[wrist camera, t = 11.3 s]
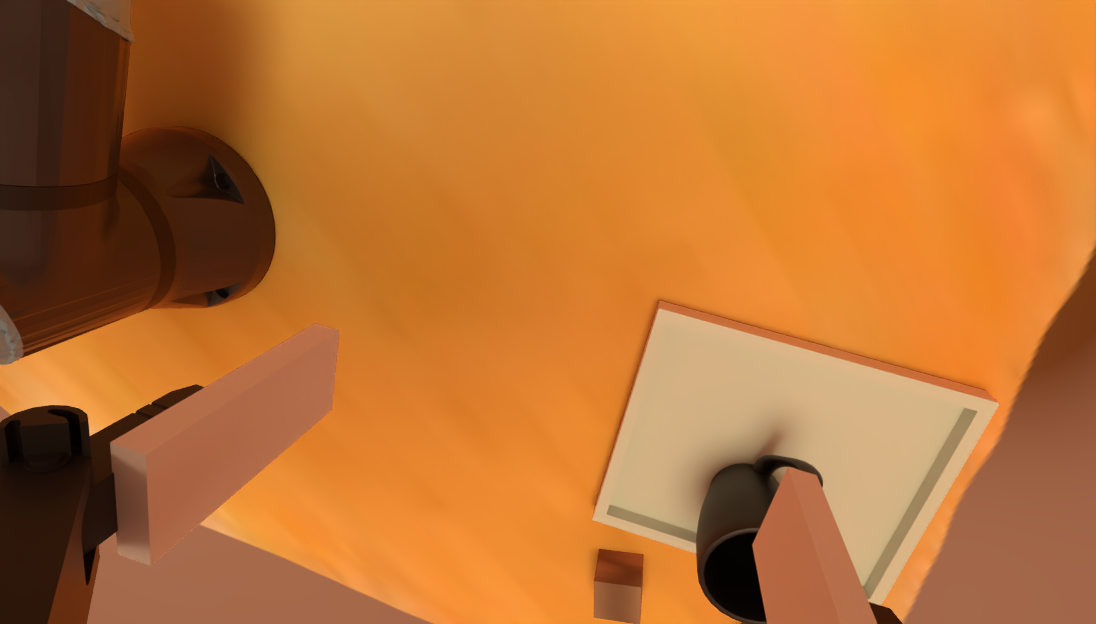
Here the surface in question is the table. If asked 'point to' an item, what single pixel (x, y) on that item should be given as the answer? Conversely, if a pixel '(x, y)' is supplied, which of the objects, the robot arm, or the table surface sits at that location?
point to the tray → (787, 435)
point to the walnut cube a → (618, 586)
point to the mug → (737, 534)
